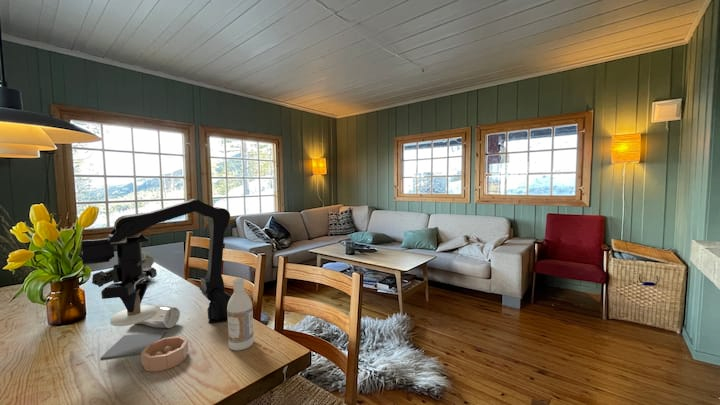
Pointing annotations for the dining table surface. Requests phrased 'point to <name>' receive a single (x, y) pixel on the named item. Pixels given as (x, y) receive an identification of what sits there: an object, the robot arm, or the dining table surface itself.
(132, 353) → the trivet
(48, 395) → the dining table surface
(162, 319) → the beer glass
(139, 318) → the lid
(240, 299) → the bath foam
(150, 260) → the rock
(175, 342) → the bowl
